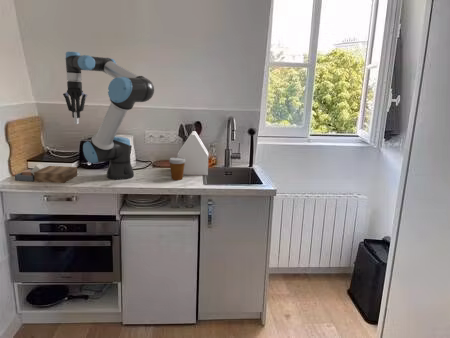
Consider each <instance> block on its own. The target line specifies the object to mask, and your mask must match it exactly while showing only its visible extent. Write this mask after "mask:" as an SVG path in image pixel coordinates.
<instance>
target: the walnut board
mask: <svg viewBox="0 0 450 338" xmlns="http://www.w3.org/2000/svg"><path fill="white" fill-rule="evenodd" d="M44 167H45V168H43V169H41V170H38V171H36V172H34V180H35V181H34V182H36V183H37V182H39V183H56V184H57V183H58V184H59V183H60V184H66V183H67V182H68V181H71V180H72V179H74V178H76V177H77V176H78V167H77V166H63V165H60V166H58V165H48V166H44Z"/></svg>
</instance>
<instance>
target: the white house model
mask: <svg viewBox="0 0 450 338" xmlns="http://www.w3.org/2000/svg"><path fill="white" fill-rule="evenodd" d="M176 157H181V158H184V159H185V161H186V162H185V165H184V172H183V175H185V176H187V175H188V176H190V175H191V176H193V175H194V176H209V151H208V149H207V147H206V146H205V144H204V143H203V141H202V139H201V138H200V136H199V134H198V133H197V131H195V130H194V131H193V130H192V131H191V133H190V134H189V136H188V138H187V139H186V140H185V142H184V143H183V144H182V146H181V148H180V149H179V150H178V152H177V155H176Z"/></svg>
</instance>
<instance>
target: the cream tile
mask: <svg viewBox="0 0 450 338" xmlns="http://www.w3.org/2000/svg"><path fill="white" fill-rule="evenodd" d="M45 167H46V166H44V165H43V164H42V163H38V164H36V165H34V167H32V168H33V169H32V170H31V171H30V172H31V173H32V174H33V175H34V172H36V171H38V170H41V169H43V168H45Z"/></svg>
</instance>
